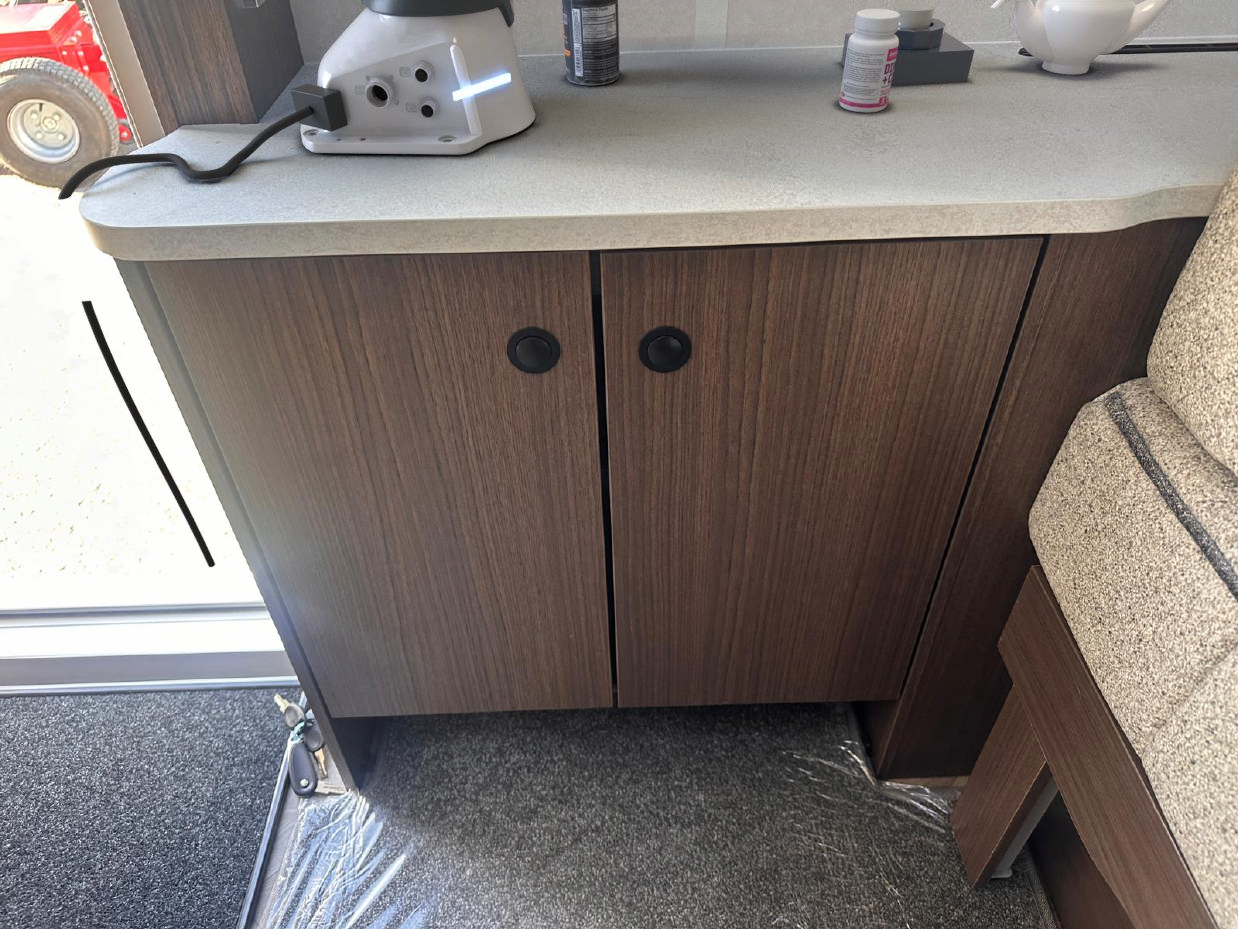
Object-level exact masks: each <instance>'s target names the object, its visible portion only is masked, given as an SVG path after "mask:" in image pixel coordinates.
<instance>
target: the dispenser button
mask: <svg viewBox="0 0 1238 929" xmlns="http://www.w3.org/2000/svg"><path fill="white" fill-rule="evenodd" d="M934 10H935V6H934V5H933V4H931V3H926V2H920V1H903V2H898V3H896V4H895V5H894V8H893V11H896V12H898V13H899V14H900V18H899V25H898V27H901V28H911V29H918V28H928V27H930V26H931V21H932V18H933V16H934Z"/></svg>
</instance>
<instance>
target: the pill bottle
mask: <svg viewBox="0 0 1238 929" xmlns="http://www.w3.org/2000/svg"><path fill="white" fill-rule="evenodd" d="M899 18H900V14H899V13H898V12H896V11H894V10H892V9H886V8H866V9H861V10H858V11H857V12H856V16H855V21H854V28H853V30H854V31H855V32H852V33H853V34H852V35H851V36H850V38H849V41H848V47H847V54H846V61H845V67H844V66H843V67H844V68H843V74H842V81H841V88H840V93H839V100H838V102H839V105H840V107H841V108H843V109H844V110H847V111H849V112H854V113H855V112H856V113H865V114H866V113H877V112H880V111H883V110H885V109H886V108H887V106H888V104H889V98H890V93H891V92H890V91H891V89H892V88H891V87H892V86H891V83H892V77H893V72H894V67H895V61H896V56H897V51H898V46H899V39H898V37H897V36H896V35H895V34H894V33H895V32H897V28H898V25H899Z"/></svg>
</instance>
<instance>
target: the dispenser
mask: <svg viewBox="0 0 1238 929" xmlns="http://www.w3.org/2000/svg"><path fill="white" fill-rule="evenodd" d="M946 26H947V24H946V23H945V21H942V20H940V19H937V18H934V17H932V21H931V26H930V27H928V28H918V29H911V28H901V27H898V28H897V32H895V33H894V34H895V35H896V36H897V37H898V39H899V46H898V51H897V56H896V61H895V67H894V72H893V77H892V83H891V87H901V86H902V87H904V86H905V87H906V86H921V85H938V84H955V83H956V84H957V83H958V84H959V83H967V82H968V80H969V76H970V71H971V66H972V63H973V58H974V54H975V49H974V48H972V47H971V46H969V45H967V44H966V43H964V42H962V41H961V40H959V39H958V38H956V37H954V36H953V35H951V34H950V33H947V32H946ZM853 33H854V32H849V33H844V40H843V41H844V42H843V48H842V54H841V62H840V64H841V65H842V66H843V67H845V61H846V54H847V47H848V41H849V38H850V36H851V35H852V34H853Z"/></svg>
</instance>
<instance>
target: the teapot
mask: <svg viewBox="0 0 1238 929" xmlns="http://www.w3.org/2000/svg"><path fill="white" fill-rule="evenodd" d="M1009 1H1010V0H996V1H995V2H994V3H993V4H992V5H990V8H991V9H1001V8H1003V7H1004V6H1005V5H1006V4H1007V3H1008V2H1009ZM1172 1H1173V0H1143V1H1141V2H1139V3H1136V0H1036V2H1035V5H1034V3H1033V0H1015V4H1014V9H1013V24H1014V29H1015V32H1016V35H1017V38H1018V40H1019V43H1020V44H1021V46H1022V47H1023V49H1024V50H1025V51H1026V52H1027V53H1028V54H1030V55H1031V56H1032V57H1033V58H1035V59H1037V60H1039V61H1041V62H1042V65H1041V68H1042V69H1043V70H1044V71H1047V72H1050V73H1055V74H1059V75H1069V76H1070V75H1072V76H1073V75H1083V74H1086V73H1088V72H1089V70H1090V69H1089V68H1090V65H1091V62H1093V61H1094V60H1095V59H1096V58H1098V57H1099V56H1101V55H1109V54H1112V53H1116V52H1117V51H1119V50H1121V49H1122V48H1124V47H1125V46H1127V45H1128V44H1130V43H1131V42H1132V41H1133V40H1135V39H1136V38H1137V37H1139V36H1140V35H1141V34H1142V33H1143V32H1144V31H1145V30H1146V29H1148V28H1149V26H1150V25H1151V24H1153V23H1154V22H1155V20H1156V19H1157V18H1158V17H1159V16H1160V15H1161V14H1162V13H1163V11H1165V9H1166V8H1167V7H1168V6H1169V4H1171V2H1172Z"/></svg>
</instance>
